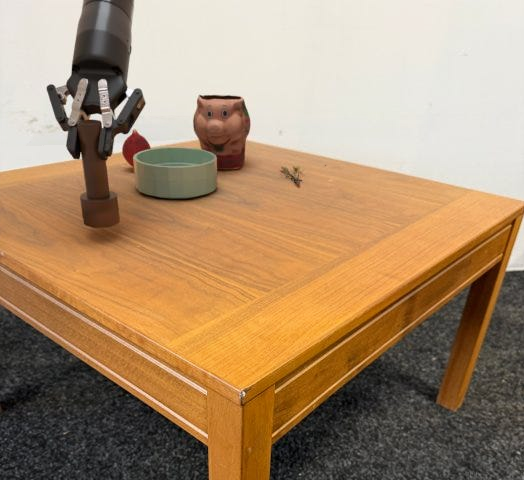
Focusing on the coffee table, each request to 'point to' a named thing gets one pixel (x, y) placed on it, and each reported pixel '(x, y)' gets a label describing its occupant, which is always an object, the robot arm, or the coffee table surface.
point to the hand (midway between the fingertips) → (88, 156)
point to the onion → (134, 146)
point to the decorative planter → (222, 128)
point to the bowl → (175, 172)
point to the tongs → (292, 174)
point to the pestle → (95, 180)
